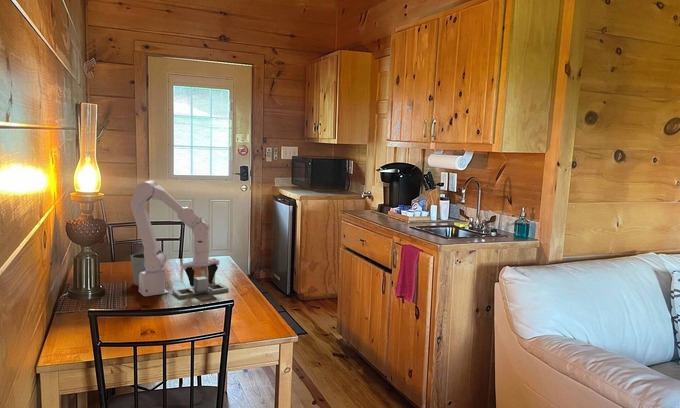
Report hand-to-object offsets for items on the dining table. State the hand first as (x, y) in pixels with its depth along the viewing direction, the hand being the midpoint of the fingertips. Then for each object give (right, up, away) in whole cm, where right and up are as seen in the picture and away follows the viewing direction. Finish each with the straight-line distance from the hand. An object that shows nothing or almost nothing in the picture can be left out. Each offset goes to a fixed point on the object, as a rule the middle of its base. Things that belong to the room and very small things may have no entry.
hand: (201, 284), depth 200 cm
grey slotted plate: (0, -3, 0) cm, 3 cm away
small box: (-3, -2, +16) cm, 16 cm away
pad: (+4, -4, -6) cm, 9 cm away
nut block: (0, -3, 0) cm, 3 cm away
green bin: (-27, -1, +10) cm, 29 cm away
